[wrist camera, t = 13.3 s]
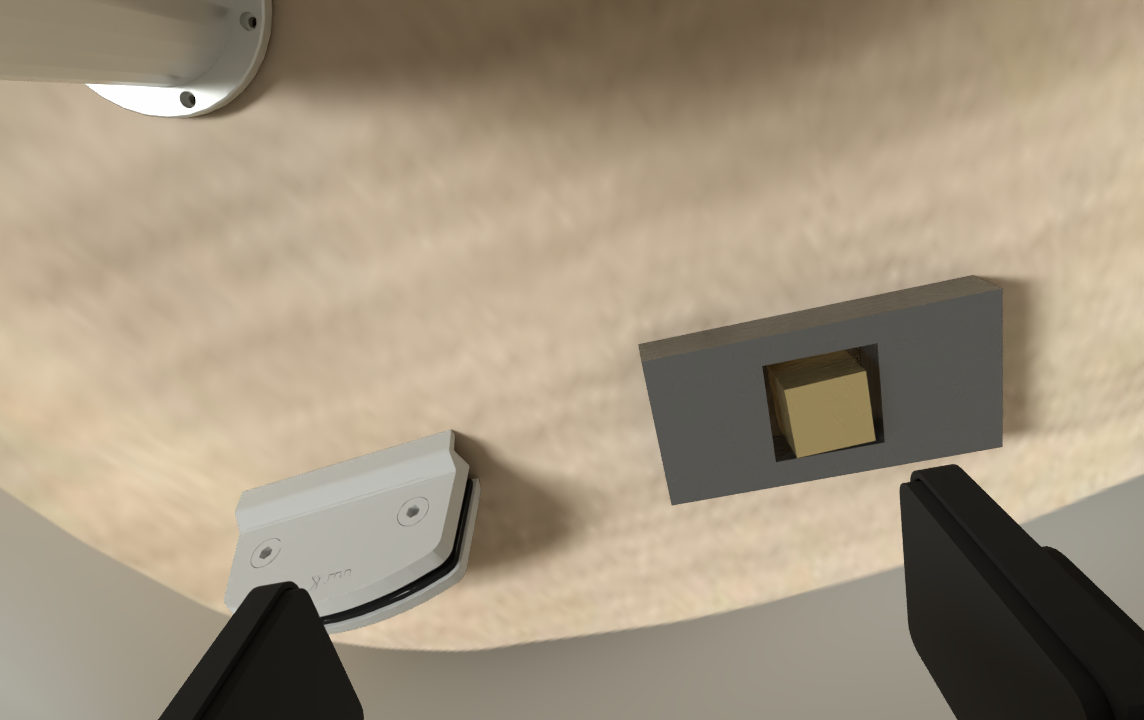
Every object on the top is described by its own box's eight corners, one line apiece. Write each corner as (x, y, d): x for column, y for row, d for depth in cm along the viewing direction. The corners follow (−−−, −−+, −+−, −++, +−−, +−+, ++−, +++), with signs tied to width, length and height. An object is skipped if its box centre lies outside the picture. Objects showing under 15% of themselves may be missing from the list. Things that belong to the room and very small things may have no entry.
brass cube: (765, 361, 41) (784, 390, 37) (837, 343, 40) (865, 371, 36) (777, 423, 42) (797, 457, 38) (847, 407, 42) (875, 440, 38)
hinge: (456, 427, 43) (446, 559, 36) (485, 470, 46) (480, 600, 39) (237, 493, 46) (183, 629, 38) (277, 530, 49) (235, 663, 41)
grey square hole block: (638, 344, 41) (641, 361, 38) (972, 275, 38) (1002, 288, 36) (666, 480, 44) (671, 505, 41) (975, 424, 42) (1002, 446, 39)
